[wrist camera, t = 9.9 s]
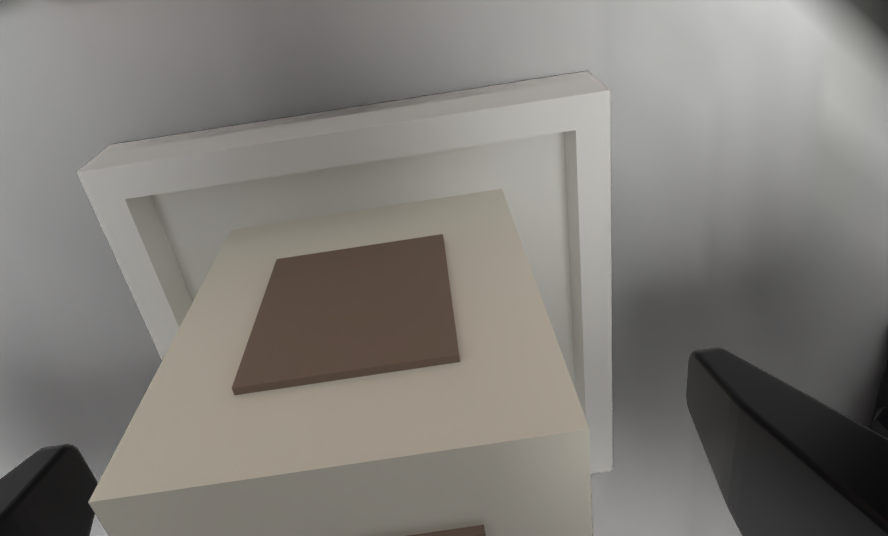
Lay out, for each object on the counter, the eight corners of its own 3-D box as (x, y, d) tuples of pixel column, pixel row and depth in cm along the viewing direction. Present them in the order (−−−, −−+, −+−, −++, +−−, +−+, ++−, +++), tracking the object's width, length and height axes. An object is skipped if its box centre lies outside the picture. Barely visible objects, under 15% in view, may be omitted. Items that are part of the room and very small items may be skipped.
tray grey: (587, 70, 10) (610, 90, 9) (596, 427, 14) (612, 470, 13) (109, 144, 10) (76, 172, 9) (249, 478, 14) (236, 525, 13)
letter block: (501, 183, 10) (592, 428, 5) (522, 397, 13) (599, 704, 8) (228, 224, 10) (79, 503, 6) (298, 430, 13) (236, 755, 8)
